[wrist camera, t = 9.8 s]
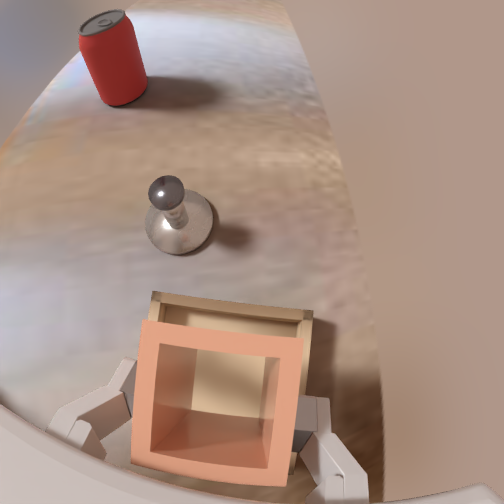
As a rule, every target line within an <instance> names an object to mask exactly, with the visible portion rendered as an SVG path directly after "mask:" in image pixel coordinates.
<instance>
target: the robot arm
mask: <svg viewBox="0 0 504 504" xmlns="http://www.w3.org/2000/svg"><path fill="white" fill-rule="evenodd" d="M136 369H137V360H134V359H131V358H128V357H125V358H124V359H123V360H122V362H121V363H120V365H119V367H118V368H117V370H116V372H115V374H114V375H113V377H112V379H111V381H110V382H109V384H108V386H102V387H100V388H98V389H96V390H94V391H92V392H90V393H88V394H86V395H84V396H82V397H80V398H78V399H76V400H74V401H72V402H70V403H68V404H66V405H64V406H62V407H60V408H59V409H58V411H57V412H56V414H55V416H54V417H53V419H52V420H51V422H50V424H49V426H48V427H47V429H46V431H45V432H44V431H42V430H40V429H39V428H37V427H35V426H34V425H32V424H30V423H29V422H27V421H25V420H24V419H22V418H21V417H19V416H17V415H16V414H14V413H13V412H11V411H10V410H8V409H7V408H5V407H4V406H3V405H1V404H0V504H282V503H271V502H261V501H253V500H246V499H239V498H233V497H227V496H221V495H216V494H211V493H206V492H201V491H197V490H193V489H189V488H185V487H181V486H177V485H173V484H170V483H166V482H163V481H159V480H156V479H153V478H150V477H146V476H143V475H140V474H138V473H135V472H132V471H129V470H126V469H124V468H121V467H118V466H116V465H113V464H111V463H108V462H106V461H104V459H105V456H106V454H107V453H106V451H105V449H104V447H103V446H102V444H101V442H100V440H101V439H103V438H104V437H106V436H107V435H109V434H110V433H111V432H113V431H114V430H116V429H117V428H119V427H120V426H121V425H123V424H124V423H126V422H127V421H128V420H130V419H131V418H133V404H134V391H135V380H136ZM291 452H296V453H299V454H300V456H301V458H302V460H303V461H304V463H305V465H306V467H307V469H308V470H309V472H310V474H311V476H312V477H313V479H314V481H315V482H316V484H317V487H316V488H315V489H314V490H313V491H312V492H311V493H310V494H308V495H307V496H306V502H305V504H504V499H503V498H502V497H501V496H500V495H498V494H497V493H496V492H495V491H494V490H493V489H492V488H491V487H489V486H488V485H486V484H485V483H477V484H472V485H469V486H466V487H462V488H458V489H455V490H451V491H446V492H442V493H437V494H432V495H427V496H422V497H416V498H411V499H404V500H397V501H389V502H380V503H369V491H368V477H367V474H366V472H365V471H364V470H363V469H362V467H361V466H360V465H359V464H358V462H357V461H356V460H355V459H354V457H353V456H352V455H351V453H350V452H349V451H348V450H347V448H346V447H345V446H344V444H343V443H342V442H341V441H340V439H339V438H338V437H337V435H336V434H335V433H331V414H330V400H329V398H325V397H315V396H307V395H298V403H297V411H296V420H295V427H294V435H293V442H292V450H291Z"/></svg>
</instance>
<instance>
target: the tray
mask: <svg viewBox="0 0 504 504" xmlns="http://www.w3.org/2000/svg"><path fill="white" fill-rule="evenodd" d="M148 320H151V321H157V322H163V323H169V324H176V325H183V326H190V327H197V328H204V329H212V330H220V331H229V332H238V333H247V334H257V335H268V336H280V337H293V338H304V343H303V355H302V365H301V375H300V385H299V394H298V395H305V392H306V383H307V375H308V365H309V355H310V345H311V334H312V322H313V311H311V310H301V309H290V308H280V307H271V306H262V305H253V304H245V303H236V302H228V301H220V300H213V299H205V298H198V297H191V296H184V295H177V294H170V293H163V292H157V291H152V297H151V303H150V309H149V316H148ZM264 366H265V357H262V356H251V355H242V354H233V353H224V352H216V351H208V350H201V349H198V350H197V359H196V368H195V378H194V387H193V397H192V408H191V410H196V411H203V412H210V413H217V414H225V415H234V416H243V417H254V418H259V412H260V403H261V394H262V385H263V375H264ZM296 456H297V453H296V452H291V457H290V463H289V470H288V475H293V474H294V468H295V462H296Z"/></svg>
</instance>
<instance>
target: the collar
mask: <svg viewBox="0 0 504 504" xmlns="http://www.w3.org/2000/svg"><path fill="white" fill-rule="evenodd" d="M303 343H304V338H293V337H280V336H268V335H257V334H247V333H238V332H229V331H220V330H212V329H204V328H197V327H190V326H183V325H176V324H169V323H163V322H157V321H151V320H145V319H143V320H142V328H141V335H140V343H139V351H138V360H137V369H136V380H135V391H134V404H133V419H132V439H131V464H134V465H138V466H142V467H145V468H149V469H153V470H158V471H162V472H167V473H171V474H176V475H181V476H187V477H192V478H198V479H204V480H211V481H219V482H227V483H236V484H248V485H263V486H286V483H287V476H288V470H289V463H290V457H291V450H292V442H293V435H294V427H295V420H296V411H297V403H298V394H299V385H300V375H301V365H302V355H303ZM198 349H201V350H208V351H216V352H224V353H233V354H242V355H251V356H262V357H265V366H264V375H263V385H262V394H261V403H260V412H259V418H254V417H243V416H234V415H225V414H217V413H210V412H203V411H196V410H191V408H192V397H193V387H194V378H195V368H196V359H197V350H198Z"/></svg>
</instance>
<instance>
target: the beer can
mask: <svg viewBox="0 0 504 504" xmlns="http://www.w3.org/2000/svg"><path fill="white" fill-rule="evenodd" d="M78 33H79V48H80V51H81V53H82V56H83V58H84V60H85V63H86V65H87V67H88V70H89V72H90V74H91V77H92V79H93V81H94V83H95V86H96V88H97V90H98V92H99V95H100V97H101V99H102V100H103V102H104V103H106V104H108V105H111V106H119V105H124V104H127V103H129V102H132V101H133V100H135V99H136V98H138V97H139V96H140V95H141V94H142V93H143V92H144V90H145V89H146V87H147V83H148V80H147V76H146V72H145V69H144V65H143V62H142V58H141V54H140V50H139V47H138V43H137V39H136V35H135V31H134V27H133V25H132V23H131V21H130V19H129V18H128V17H127V16H126V14H125V11H123V10H119V9H118V10H117V9H114V10H109V11H105V12H102V13H100V14H97V15H95V16H93V17H91V18H90V19H88V20H87V21H86V22H84V23H83V24H82V25H81V26H80V28H79V30H78Z"/></svg>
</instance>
